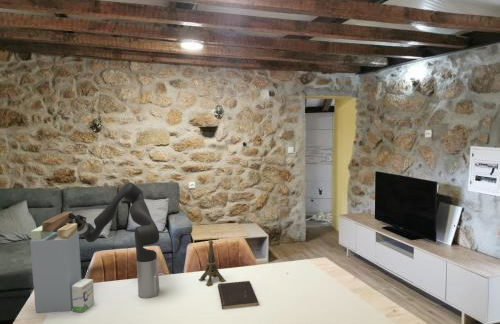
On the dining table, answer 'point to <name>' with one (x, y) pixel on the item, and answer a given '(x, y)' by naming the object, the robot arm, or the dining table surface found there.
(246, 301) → the hardcover book
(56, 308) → the stand
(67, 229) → the maple bar
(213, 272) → the eiffel tower
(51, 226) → the walnut bar
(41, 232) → the sage bar
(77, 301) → the ink box
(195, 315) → the dining table surface
